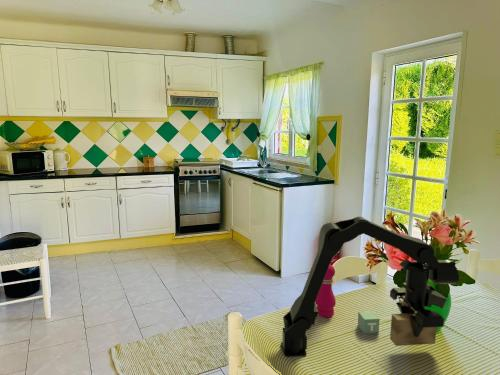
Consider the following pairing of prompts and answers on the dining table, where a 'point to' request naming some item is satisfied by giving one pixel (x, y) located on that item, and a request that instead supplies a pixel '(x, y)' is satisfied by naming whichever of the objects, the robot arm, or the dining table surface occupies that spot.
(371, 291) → the dining table surface
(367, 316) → the letter cube
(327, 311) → the pepper mill
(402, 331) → the wooden block
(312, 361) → the dining table surface
